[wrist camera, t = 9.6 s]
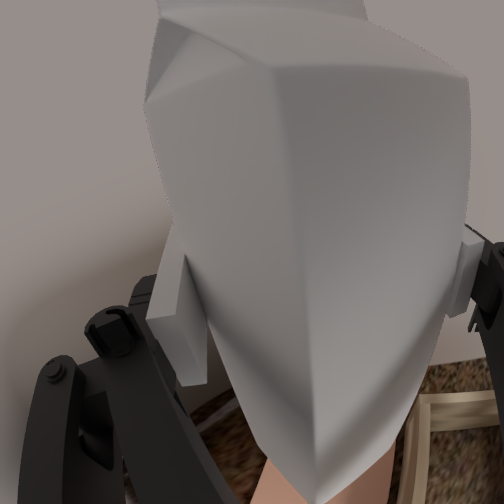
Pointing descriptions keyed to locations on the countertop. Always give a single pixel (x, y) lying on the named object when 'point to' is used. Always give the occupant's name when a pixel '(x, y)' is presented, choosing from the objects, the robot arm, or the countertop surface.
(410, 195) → the milk
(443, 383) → the countertop surface
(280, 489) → the mat
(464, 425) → the holder
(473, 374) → the countertop surface
